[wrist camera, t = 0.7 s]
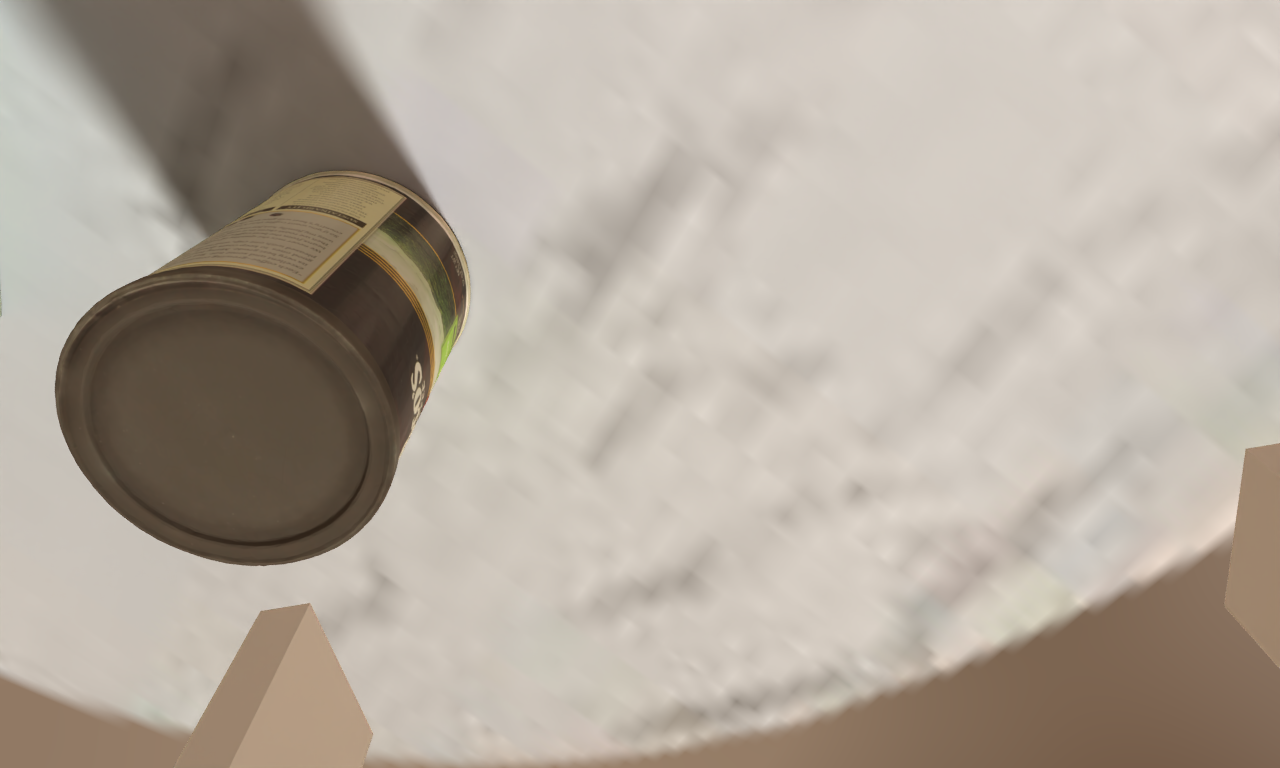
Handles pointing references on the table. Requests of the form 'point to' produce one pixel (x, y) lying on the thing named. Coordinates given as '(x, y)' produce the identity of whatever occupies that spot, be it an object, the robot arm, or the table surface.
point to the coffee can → (268, 371)
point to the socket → (0, 305)
